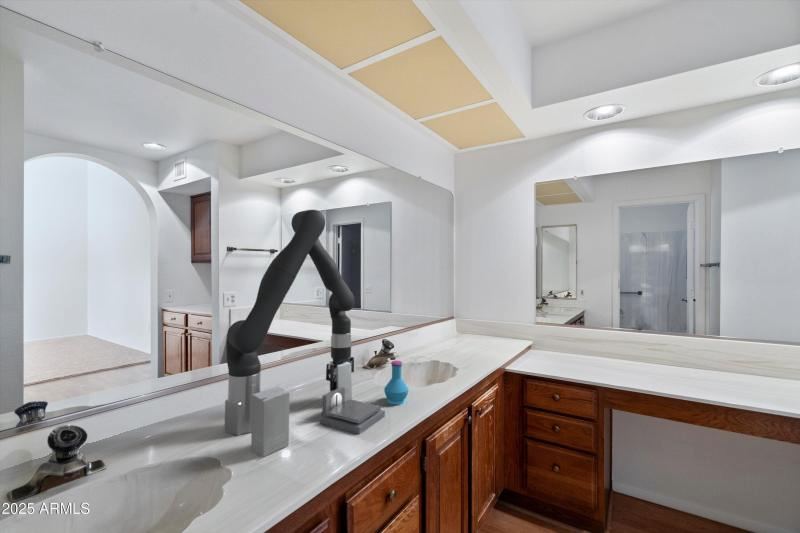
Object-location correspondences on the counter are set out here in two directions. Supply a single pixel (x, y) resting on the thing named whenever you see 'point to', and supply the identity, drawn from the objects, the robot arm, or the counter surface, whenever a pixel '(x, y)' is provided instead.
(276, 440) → the skincare box
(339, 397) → the scale base
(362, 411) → the pan
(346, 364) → the skincare box
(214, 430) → the counter surface
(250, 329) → the robot arm
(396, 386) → the perfume bottle
